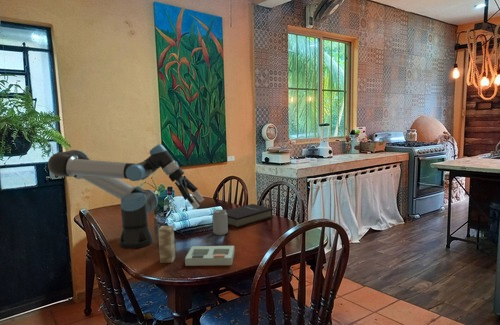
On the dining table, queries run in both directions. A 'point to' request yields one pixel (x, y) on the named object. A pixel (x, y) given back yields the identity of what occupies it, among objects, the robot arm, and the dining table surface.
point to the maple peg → (166, 244)
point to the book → (248, 215)
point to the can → (220, 222)
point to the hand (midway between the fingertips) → (199, 204)
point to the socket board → (210, 255)
